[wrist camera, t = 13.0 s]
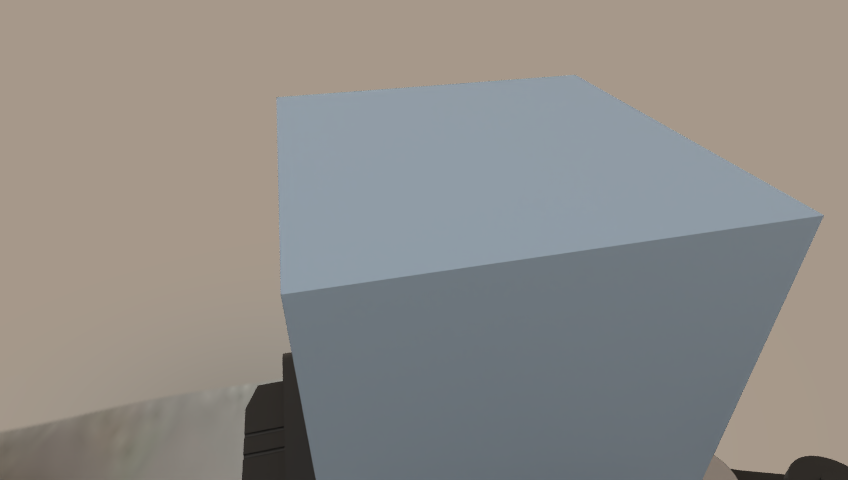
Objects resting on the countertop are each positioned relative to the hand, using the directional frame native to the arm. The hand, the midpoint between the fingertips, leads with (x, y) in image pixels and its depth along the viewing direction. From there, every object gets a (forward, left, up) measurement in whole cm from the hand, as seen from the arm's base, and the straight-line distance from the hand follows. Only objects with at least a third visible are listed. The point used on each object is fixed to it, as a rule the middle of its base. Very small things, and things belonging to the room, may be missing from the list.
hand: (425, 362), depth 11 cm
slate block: (0, -3, -8) cm, 8 cm away
